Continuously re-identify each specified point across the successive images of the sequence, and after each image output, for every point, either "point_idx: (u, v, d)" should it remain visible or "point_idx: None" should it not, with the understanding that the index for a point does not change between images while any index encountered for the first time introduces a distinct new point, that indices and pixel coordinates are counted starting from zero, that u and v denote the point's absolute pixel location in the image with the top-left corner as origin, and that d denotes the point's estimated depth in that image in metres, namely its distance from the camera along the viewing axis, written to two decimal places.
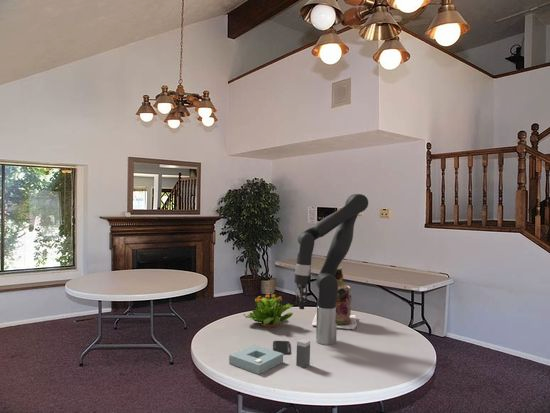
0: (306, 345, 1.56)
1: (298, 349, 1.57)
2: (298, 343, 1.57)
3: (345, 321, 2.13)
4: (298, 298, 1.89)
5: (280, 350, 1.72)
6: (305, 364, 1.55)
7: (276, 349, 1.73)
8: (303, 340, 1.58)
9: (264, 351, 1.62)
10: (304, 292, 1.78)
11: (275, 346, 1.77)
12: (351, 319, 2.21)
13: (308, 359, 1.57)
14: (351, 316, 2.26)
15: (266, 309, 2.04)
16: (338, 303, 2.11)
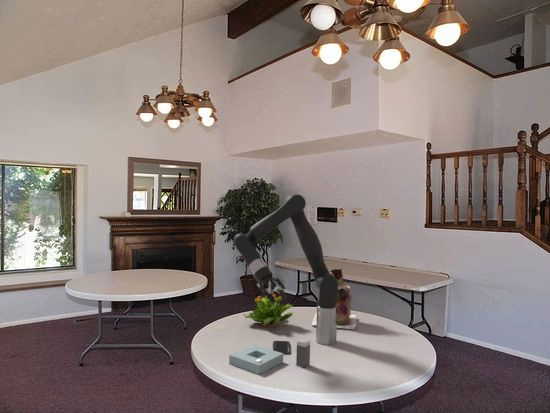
0: (306, 345, 1.56)
1: (298, 349, 1.57)
2: (298, 343, 1.57)
3: (345, 321, 2.13)
4: (281, 293, 1.69)
5: (280, 350, 1.72)
6: (305, 364, 1.55)
7: (276, 349, 1.73)
8: (303, 340, 1.58)
9: (264, 351, 1.62)
10: (259, 286, 1.63)
11: (275, 346, 1.77)
12: (351, 319, 2.21)
13: (308, 359, 1.57)
14: (351, 316, 2.26)
15: (266, 309, 2.04)
16: (338, 303, 2.11)
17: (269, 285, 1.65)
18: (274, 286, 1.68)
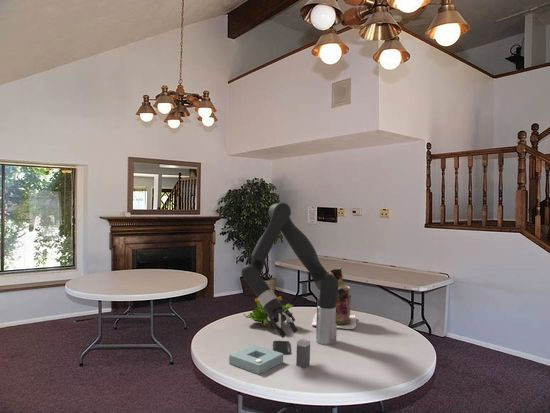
0: (306, 345, 1.56)
1: (298, 349, 1.57)
2: (298, 343, 1.57)
3: (345, 321, 2.13)
4: (291, 326, 1.66)
5: (280, 350, 1.72)
6: (305, 364, 1.55)
7: (276, 349, 1.73)
8: (303, 340, 1.58)
9: (264, 351, 1.62)
10: (269, 320, 1.60)
11: (275, 346, 1.77)
12: (351, 319, 2.21)
13: (308, 359, 1.57)
14: (351, 316, 2.26)
15: None
16: (338, 303, 2.10)
17: (279, 318, 1.62)
18: (284, 319, 1.65)
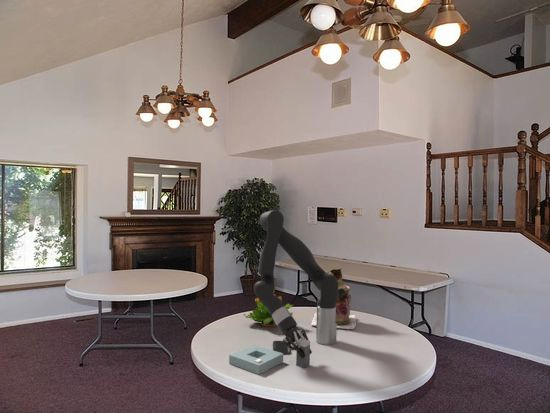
0: (306, 345, 1.56)
1: None
2: None
3: (344, 321, 2.13)
4: None
5: (280, 350, 1.72)
6: (305, 364, 1.55)
7: (276, 349, 1.73)
8: (303, 340, 1.58)
9: (264, 351, 1.62)
10: (287, 342, 1.55)
11: (275, 346, 1.77)
12: (350, 319, 2.21)
13: (308, 359, 1.57)
14: (350, 316, 2.26)
15: (266, 309, 2.04)
16: (337, 303, 2.10)
17: (296, 337, 1.57)
18: (298, 337, 1.59)
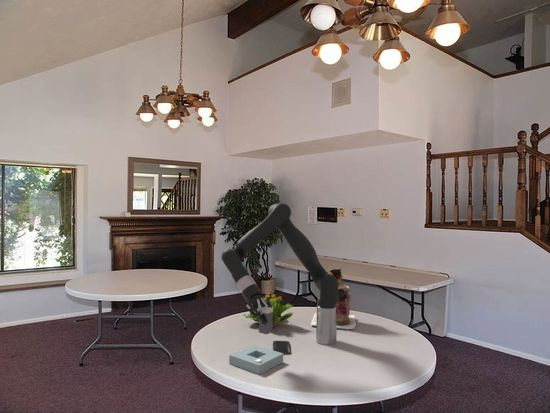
0: (268, 312, 1.57)
1: None
2: (261, 310, 1.58)
3: (344, 321, 2.13)
4: None
5: (280, 350, 1.72)
6: (267, 330, 1.56)
7: (276, 349, 1.73)
8: (266, 307, 1.59)
9: (264, 351, 1.62)
10: (250, 308, 1.56)
11: (275, 346, 1.77)
12: (350, 319, 2.21)
13: (271, 326, 1.58)
14: (350, 316, 2.26)
15: None
16: (337, 303, 2.10)
17: (259, 304, 1.59)
18: (261, 304, 1.60)
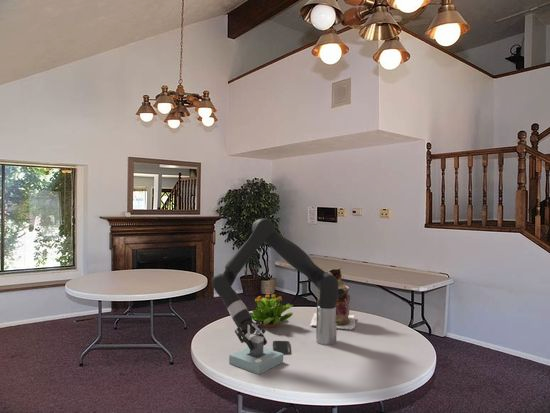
0: (259, 341, 1.57)
1: None
2: (251, 339, 1.58)
3: (344, 321, 2.13)
4: None
5: (280, 350, 1.72)
6: None
7: (276, 349, 1.73)
8: (257, 336, 1.60)
9: (264, 351, 1.62)
10: (238, 333, 1.56)
11: (275, 346, 1.77)
12: (350, 319, 2.21)
13: (261, 355, 1.59)
14: (350, 316, 2.26)
15: (266, 309, 2.04)
16: (337, 303, 2.10)
17: (248, 330, 1.59)
18: (253, 330, 1.61)
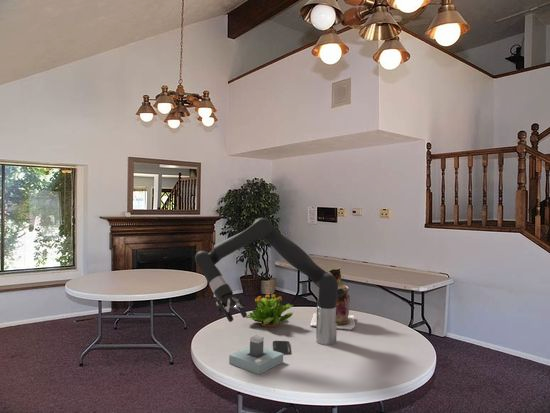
0: (259, 341, 1.57)
1: (251, 345, 1.58)
2: (251, 339, 1.58)
3: (343, 321, 2.13)
4: (241, 311, 1.70)
5: (280, 350, 1.72)
6: None
7: (276, 349, 1.73)
8: (257, 336, 1.60)
9: (264, 351, 1.62)
10: (218, 305, 1.63)
11: (275, 346, 1.77)
12: (349, 319, 2.21)
13: (261, 355, 1.59)
14: (349, 316, 2.26)
15: (266, 309, 2.04)
16: (336, 303, 2.10)
17: (228, 303, 1.66)
18: (234, 304, 1.68)
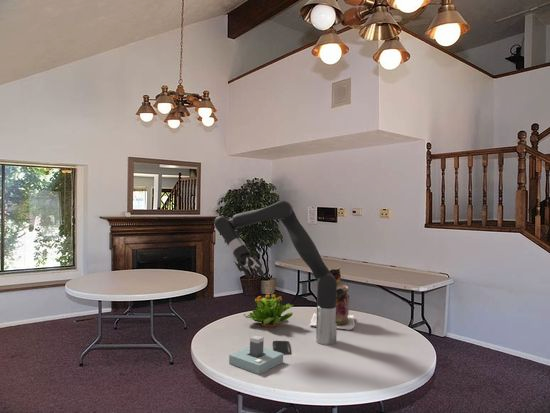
0: (259, 341, 1.57)
1: (251, 345, 1.58)
2: (251, 339, 1.58)
3: (343, 321, 2.12)
4: (258, 269, 1.84)
5: (280, 350, 1.72)
6: None
7: (276, 349, 1.73)
8: (257, 336, 1.60)
9: (264, 351, 1.62)
10: (237, 263, 1.77)
11: (275, 346, 1.77)
12: (349, 319, 2.21)
13: (261, 355, 1.59)
14: (349, 316, 2.26)
15: (266, 309, 2.04)
16: (336, 303, 2.10)
17: (246, 262, 1.79)
18: (251, 263, 1.82)
